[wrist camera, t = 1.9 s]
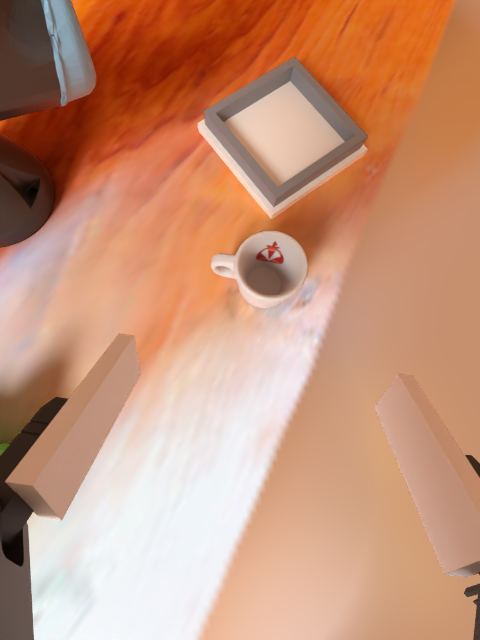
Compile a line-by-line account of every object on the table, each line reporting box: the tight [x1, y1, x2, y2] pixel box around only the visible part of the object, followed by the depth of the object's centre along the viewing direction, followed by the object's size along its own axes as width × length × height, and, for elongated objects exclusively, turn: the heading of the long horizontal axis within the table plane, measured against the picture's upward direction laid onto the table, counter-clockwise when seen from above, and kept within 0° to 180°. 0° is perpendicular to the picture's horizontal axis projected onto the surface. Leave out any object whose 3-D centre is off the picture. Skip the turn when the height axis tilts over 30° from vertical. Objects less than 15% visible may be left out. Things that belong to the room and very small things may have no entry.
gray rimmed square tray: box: [197, 57, 368, 220], centre depth 37 cm, size 18×18×3 cm
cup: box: [211, 230, 308, 308], centre depth 31 cm, size 11×8×8 cm
